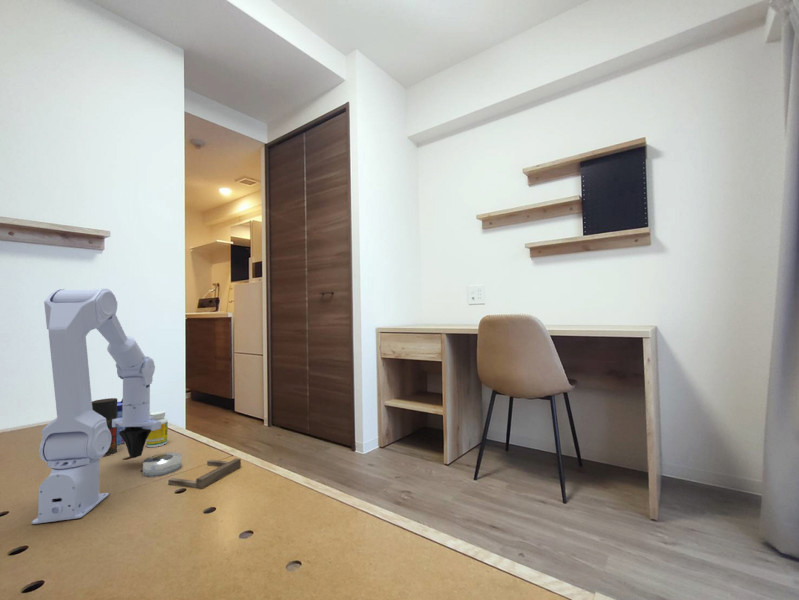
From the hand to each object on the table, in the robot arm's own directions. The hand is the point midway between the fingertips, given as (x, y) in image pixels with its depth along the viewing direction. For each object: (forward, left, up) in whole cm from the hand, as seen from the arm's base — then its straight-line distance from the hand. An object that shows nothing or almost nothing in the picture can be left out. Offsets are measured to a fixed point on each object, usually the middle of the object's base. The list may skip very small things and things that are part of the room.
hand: (135, 456), depth 93 cm
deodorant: (+13, +14, -3) cm, 19 cm away
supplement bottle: (+17, +2, -3) cm, 18 cm away
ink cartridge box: (+25, +14, -3) cm, 29 cm away
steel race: (-5, -8, -3) cm, 9 cm away
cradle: (-11, -20, -2) cm, 23 cm away
